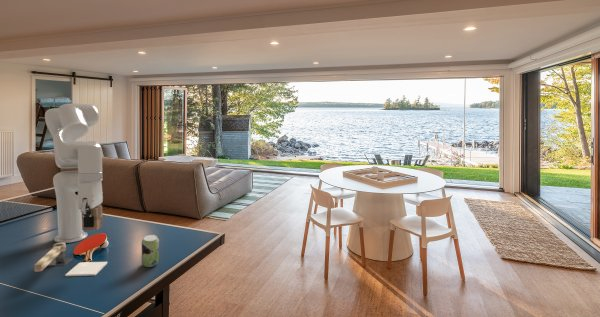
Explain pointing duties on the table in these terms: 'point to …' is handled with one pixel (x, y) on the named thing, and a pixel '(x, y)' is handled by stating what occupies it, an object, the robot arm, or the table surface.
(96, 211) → the walnut block
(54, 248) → the swing arm
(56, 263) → the pivot plate
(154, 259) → the beverage can
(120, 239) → the table surface
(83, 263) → the tile
